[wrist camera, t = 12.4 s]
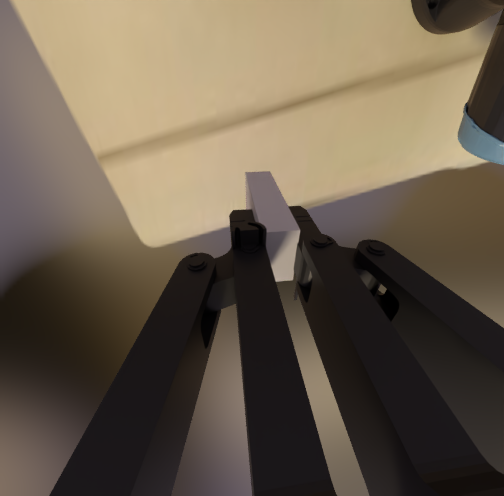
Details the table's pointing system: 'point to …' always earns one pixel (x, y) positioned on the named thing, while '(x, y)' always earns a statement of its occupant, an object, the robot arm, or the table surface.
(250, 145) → the table surface
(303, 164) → the table surface
